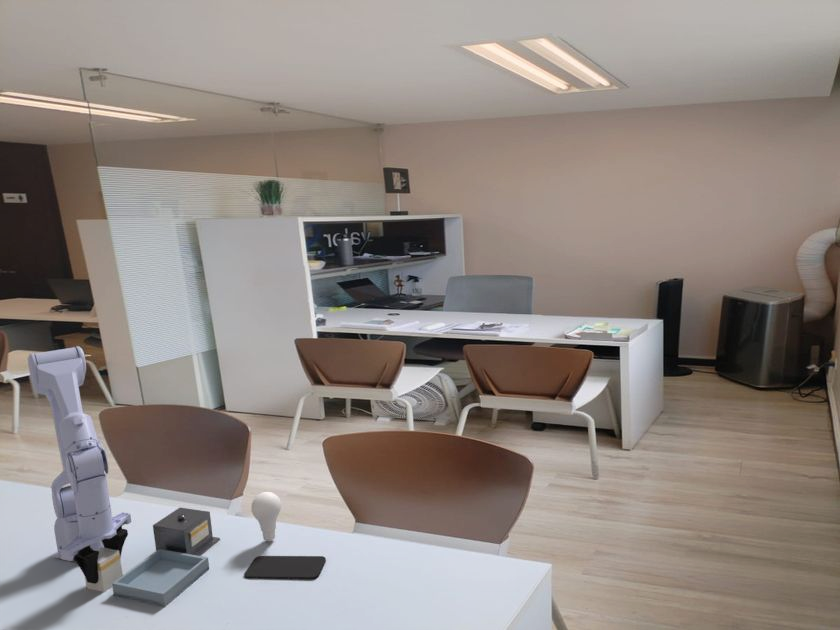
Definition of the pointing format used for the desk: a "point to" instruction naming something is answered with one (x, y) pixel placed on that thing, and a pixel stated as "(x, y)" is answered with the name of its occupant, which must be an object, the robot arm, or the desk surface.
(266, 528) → the lightbulb
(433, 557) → the desk surface
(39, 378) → the robot arm
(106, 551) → the part block
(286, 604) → the desk surface
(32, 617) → the desk surface
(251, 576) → the phone
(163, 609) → the desk surface
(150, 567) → the tray
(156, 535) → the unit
